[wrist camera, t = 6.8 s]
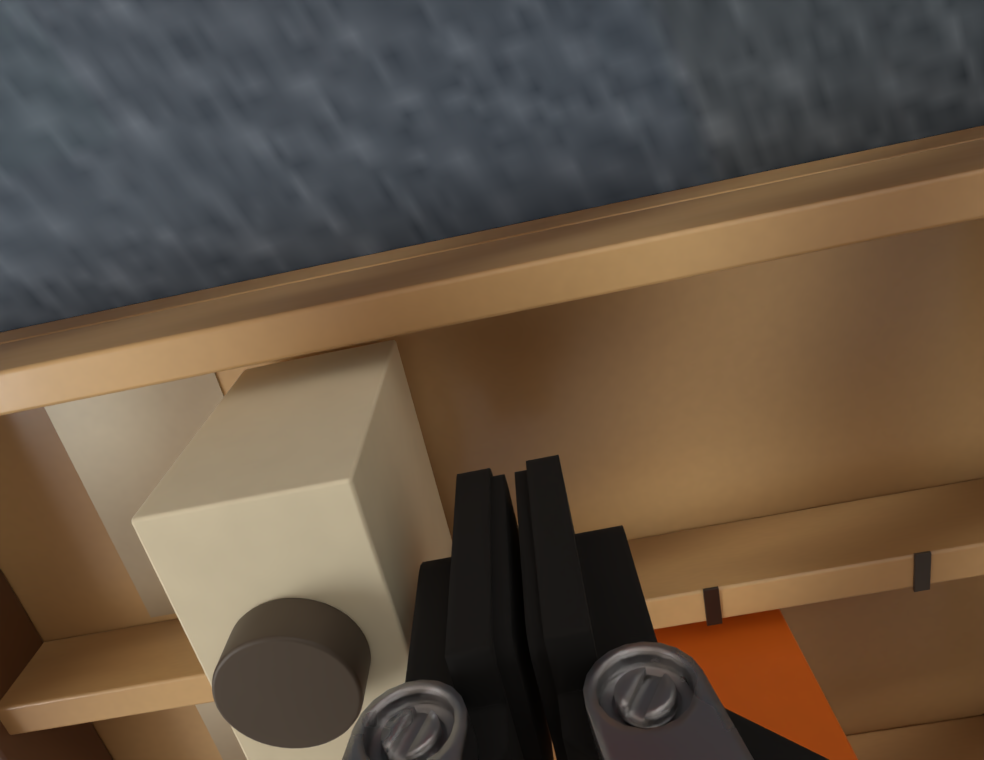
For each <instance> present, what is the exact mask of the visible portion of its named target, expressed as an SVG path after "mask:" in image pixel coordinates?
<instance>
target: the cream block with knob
mask: <svg viewBox="0 0 984 760" xmlns="http://www.w3.org/2000/svg"><path fill="white" fill-rule="evenodd" d="M131 521H132V525H133V527H134V529H135V531H136V533H137V535H138V537H139V539H140V541H141V543H142V545H143V547H144V549H145V551H146V553H147V556H148V558H149V560H150V562H151V564H152V566H153V568H154V570H155V572H156V574H157V576H158V578H159V580H160V582H161V584H162V586H163V588H164V590H165V592H166V594H167V596H168V599H169V601H170V603H171V605H172V607H173V609H174V611H175V613H176V615H177V617H178V619H179V621H180V623H181V625H182V627H183V629H184V631H185V633H186V635H187V637H188V639H189V642H190V644H191V646H192V648H193V650H194V652H195V654H196V656H197V658H198V660H199V662H200V664H201V666H202V668H203V670H204V672H205V674H206V676H207V678H208V680H209V682H210V685H211V687H212V694H213V699H214V702H215V704H216V707H217V709H218V710H219V712H220V714H221V715H222V716H223V718H224V719H225V720H226V721H227V722H228V723H229V724H230V725H231V728H232V730H233V732H234V734H235V736H236V738H237V740H238V742H239V744H240V746H241V748H242V750H243V752H244V754H245V756H246V758H247V760H342V758H343V755H344V752H345V750H346V747H347V744H348V741H349V738H350V736H351V733H352V730H353V728H354V726H355V724H356V722H357V720H358V718H359V716H360V715H361V713H362V712H363V711H364V710H365V709H366V708H367V706H368V705H369V704H370V703H371V702H372V701H373V700H374V699H376V698H377V697H378V696H380V695H381V694H383V693H384V692H386V691H387V690H388V689H391V688H393V687H396V686H398V685H400V684H403V683H405V679H406V671H407V663H408V655H409V647H410V639H411V631H412V623H413V615H414V607H415V599H416V591H417V583H418V575H419V569H420V565H421V564H422V563H423V562H426V561H431V560H437V559H442V558H448V557H451V552H452V539H451V535H450V532H449V528H448V525H447V521H446V518H445V514H444V510H443V507H442V503H441V500H440V496H439V493H438V489H437V486H436V482H435V478H434V475H433V471H432V468H431V464H430V461H429V457H428V454H427V450H426V446H425V443H424V439H423V436H422V432H421V429H420V425H419V422H418V418H417V414H416V411H415V407H414V404H413V400H412V397H411V393H410V390H409V386H408V382H407V379H406V375H405V372H404V368H403V365H402V361H401V357H400V354H399V350H398V347H397V343H396V341H395V340H390V341H385V342H380V343H375V344H370V345H365V346H360V347H355V348H350V349H345V350H340V351H335V352H330V353H325V354H320V355H315V356H310V357H305V358H300V359H295V360H290V361H285V362H280V363H275V364H270V365H265V366H260V367H255V368H250V369H246V370H244V371H243V372H242V374H241V375H240V376H239V378H238V379H237V380H236V382H235V383H234V384H233V386H232V387H231V388H230V390H229V391H228V392H227V394H226V395H225V396H224V398H223V399H222V400H221V401H220V403H219V404H218V405H217V407H216V408H215V409H214V411H213V412H212V413H211V415H210V416H209V417H208V419H207V420H206V421H205V423H204V424H203V425H202V427H201V428H200V429H199V431H198V432H197V433H196V435H195V436H194V437H193V438H192V440H191V441H190V442H189V444H188V445H187V446H186V448H185V449H184V450H183V452H182V453H181V454H180V456H179V457H178V458H177V460H176V461H175V462H174V464H173V465H172V466H171V468H170V469H169V470H168V471H167V473H166V474H165V475H164V477H163V478H162V479H161V481H160V482H159V483H158V485H157V486H156V487H155V489H154V490H153V491H152V493H151V494H150V495H149V497H148V498H147V499H146V501H145V502H144V503H143V504H142V506H141V507H140V508H139V510H138V511H137V512H136V514H135V515H134V516H133V518H132V520H131Z"/></svg>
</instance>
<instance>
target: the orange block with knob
mask: <svg viewBox="0 0 984 760" xmlns="http://www.w3.org/2000/svg"><path fill="white" fill-rule="evenodd" d="M654 632H655V635H656V639H657V642H658V643H663V644H666V645H669V646H672V647H676V648H678V649H680V650H681V651H683V652H684V653H686V654H688V655H689V656H691V657H692V658H693V659H694V660H695V661H696V663H697V664H698V665H699V666H700V667H701V669H702V670H703V672H704V673H705V675H706V677H707V679H708V680H709V682H710V684H711V686H712V687H713V689H714V691H715V693H716V694H717V696H718V698H719V700H720V701H721V703H722V705H723V707H724V708H726V709H728V710H730V711H732V712H734V713H736V714H738V715H740V716H742V717H744V718H746V719H748V720H750V721H752V722H754V723H756V724H758V725H760V726H762V727H764V728H766V729H768V730H770V731H773V732H775V733H777V734H779V735H781V736H783V737H785V738H787V739H789V740H791V741H793V742H795V743H797V744H799V745H801V746H803V747H805V748H807V749H809V750H811V751H813V752H815V753H817V754H819V755H821V756H823V757H825V758H827V759H829V760H858V758H857V756H856V755H855V753H854V751H853V749H852V747H851V745H850V743H849V741H848V739H847V737H846V735H845V733H844V732H843V730H842V728H841V726H840V724H839V722H838V720H837V718H836V716H835V714H834V712H833V710H832V709H831V707H830V705H829V703H828V701H827V699H826V697H825V695H824V693H823V691H822V689H821V687H820V686H819V684H818V682H817V680H816V678H815V676H814V674H813V672H812V670H811V668H810V666H809V664H808V663H807V661H806V659H805V657H804V655H803V653H802V651H801V649H800V647H799V645H798V643H797V641H796V640H795V638H794V636H793V634H792V632H791V630H790V628H789V626H788V624H787V622H786V620H785V619H784V617H783V615H782V613H781V611H780V609H775V610H769V611H763V612H757V613H751V614H745V615H739V616H733V617H727V618H722V624H717V625H711V626H707V623H706V621H702V622H696V623H690V624H684V625H678V626H672V627H666V628H660V629H654Z"/></svg>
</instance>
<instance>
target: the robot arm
mask: <svg viewBox="0 0 984 760" xmlns="http://www.w3.org/2000/svg"><path fill="white" fill-rule="evenodd" d="M526 469H527V470H523V471H518V472H515V488H516V502H517V516H518V525H517V521H516V517H515V513H514V508H513V504H512V500H511V496H510V492H509V488H508V484H507V480H506V477H505V474H502V475H497V476H493V474H492V471H491V469H490V468H487V469H481V470H476V471H471V472H466V473H461V474H457V477H456V491H455V506H454V521H453V537H452V552H451V557H448V558H442V559H437V560H431V561H426V562H423V563H422V564H421V565H420V569H419V575H418V583H417V591H416V599H415V607H414V615H413V623H412V631H411V639H410V647H409V655H408V663H407V671H406V679H405V683H403V684H400V685H398V686H396V687H393V688H391V689H388V690H387V691H386V692H384V693H383V694H381V695H380V696H378V697H377V698H376V699H374V700H373V701H372V702H371V703H370V704H369V705H368V706H367V708H366V709H365V710H364V711H363V712H362V713H361V715H360V716H359V718H358V720H357V722H356V724H355V726H354V728H353V730H352V733H351V736H350V738H349V741H348V744H347V747H346V750H345V752H344V755H343V758H342V760H554V757H553V747H554V751H555V755H556V759H557V760H829V759H827V758H825V757H823V756H821V755H819V754H817V753H815V752H813V751H811V750H809V749H807V748H805V747H803V746H801V745H799V744H797V743H795V742H793V741H791V740H789V739H787V738H785V737H783V736H781V735H779V734H777V733H775V732H773V731H770V730H768V729H766V728H764V727H762V726H760V725H758V724H756V723H754V722H752V721H750V720H748V719H746V718H744V717H742V716H740V715H738V714H736V713H734V712H732V711H730V710H728V709H726V708H724V707H723V705H722V703H721V701H720V700H719V698H718V696H717V694H716V693H715V691H714V689H713V687H712V686H711V684H710V682H709V680H708V679H707V677H706V675H705V673H704V672H703V670H702V669H701V667H700V666H699V665H698V664H697V663H696V661H695V660H694V659H693V658H692V657H691V656H689V655H688V654H686V653H684V652H683V651H681V650H680V649H678V648H676V647H672V646H669V645H666V644H663V643H658V642H657V639H656V635H655V632H654V629H653V625H652V622H651V618H650V615H649V612H648V608H647V605H646V601H645V598H644V595H643V591H642V588H641V584H640V581H639V578H638V574H637V571H636V568H635V564H634V561H633V557H632V554H631V551H630V547H629V544H628V540H627V537H626V534H625V531H624V527H623V526H622V525H621V526H615V527H610V528H604V529H599V530H594V531H588V532H583V533H577V534H575V531H574V526H573V521H572V517H571V512H570V507H569V502H568V497H567V492H566V488H565V483H564V478H563V473H562V468H561V463H560V459H559V455H554V456H548V457H543V458H538V459H533V460H528V461H526ZM552 743H553V747H552Z"/></svg>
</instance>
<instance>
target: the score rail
mask: <svg viewBox="0 0 984 760" xmlns="http://www.w3.org/2000/svg"><path fill="white" fill-rule="evenodd" d="M390 340H395V341H396V343H397V347H398V350H399V354H400V357H401V361H402V365H403V368H404V372H405V375H406V379H407V382H408V386H409V390H410V393H411V397H412V400H413V404H414V407H415V411H416V414H417V418H418V422H419V425H420V429H421V432H422V436H423V439H424V443H425V446H426V450H427V454H428V457H429V461H430V464H431V468H432V471H433V475H434V478H435V482H436V486H437V489H438V493H439V496H440V500H441V503H442V507H443V510H444V514H445V518H446V521H447V525H448V528H449V532H450V535H451V539H452V537H453V521H454V506H455V491H456V477H457V474H461V473H466V472H471V471H476V470H481V469H487V468H490V469H491V471H492V474H493V476H497V475H502V474H505V477H506V480H507V484H508V488H509V492H510V496H511V500H512V504H513V508H514V513H515V517H516V521H517V525H518V516H517V502H516V488H515V472H518V471H523V470H527V469H526V461H528V460H533V459H538V458H543V457H548V456H554V455H559V459H560V463H561V468H562V473H563V478H564V483H565V488H566V492H567V497H568V502H569V507H570V512H571V517H572V521H573V526H574V531H575V534H577V533H583V532H588V531H594V530H599V529H604V528H610V527H615V526H621V525H622V526H623V527H624V531H625V534H626V537H627V540H628V544H629V547H630V551H631V554H632V557H633V561H634V564H635V568H636V571H637V574H638V578H639V581H640V584H641V588H642V591H643V595H644V598H645V601H646V605H647V608H648V612H649V615H650V618H651V622H652V625H653V629H660V628H666V627H672V626H678V625H684V624H690V623H696V622H702V621H706V623H707V626H711V625H717V624H722V618H727V617H733V616H739V615H745V614H751V613H757V612H763V611H769V610H775V609H780V611H781V613H782V615H783V617H784V619H785V620H786V622H787V624H788V626H789V628H790V630H791V632H792V634H793V636H794V638H795V640H796V641H797V643H798V645H799V647H800V649H801V651H802V653H803V655H804V657H805V659H806V661H807V663H808V664H809V666H810V668H811V670H812V672H813V674H814V676H815V678H816V680H817V682H818V684H819V686H820V687H821V689H822V691H823V693H824V695H825V697H826V699H827V701H828V703H829V705H830V707H831V709H832V710H833V712H834V714H835V716H836V718H837V720H838V722H839V724H840V726H841V728H842V730H843V732H844V733H845V735H846V737H847V739H848V741H849V743H850V745H851V747H852V749H853V751H854V753H855V755H856V756H857V758H858V760H984V126H979V127H974V128H970V129H965V130H960V131H955V132H951V133H946V134H941V135H936V136H932V137H927V138H922V139H917V140H913V141H908V142H903V143H898V144H894V145H889V146H884V147H879V148H875V149H870V150H865V151H860V152H856V153H851V154H846V155H841V156H837V157H832V158H827V159H822V160H818V161H813V162H808V163H803V164H799V165H794V166H789V167H784V168H780V169H775V170H770V171H765V172H760V173H756V174H751V175H746V176H741V177H737V178H732V179H727V180H722V181H718V182H713V183H708V184H703V185H699V186H694V187H689V188H684V189H680V190H675V191H670V192H665V193H661V194H656V195H651V196H646V197H642V198H637V199H632V200H627V201H623V202H618V203H613V204H608V205H604V206H599V207H594V208H589V209H585V210H580V211H575V212H570V213H566V214H561V215H556V216H551V217H547V218H542V219H537V220H532V221H528V222H523V223H518V224H513V225H509V226H504V227H499V228H494V229H490V230H485V231H480V232H475V233H471V234H466V235H461V236H456V237H452V238H447V239H442V240H437V241H433V242H428V243H423V244H418V245H414V246H409V247H404V248H399V249H395V250H390V251H385V252H380V253H376V254H371V255H366V256H361V257H357V258H352V259H347V260H342V261H338V262H333V263H328V264H323V265H319V266H314V267H309V268H304V269H300V270H295V271H290V272H285V273H281V274H276V275H271V276H266V277H262V278H257V279H252V280H247V281H243V282H238V283H233V284H228V285H224V286H219V287H214V288H209V289H205V290H200V291H195V292H190V293H186V294H181V295H176V296H171V297H167V298H162V299H157V300H152V301H148V302H143V303H138V304H133V305H129V306H124V307H119V308H114V309H110V310H105V311H100V312H95V313H91V314H86V315H81V316H76V317H72V318H67V319H62V320H57V321H53V322H48V323H43V324H38V325H34V326H29V327H24V328H19V329H15V330H10V331H5V332H0V760H247V758H246V756H245V754H244V752H243V750H242V748H241V746H240V744H239V742H238V740H237V738H236V736H235V734H234V732H233V730H232V728H231V725H230V724H229V723H228V722H227V721H226V720H225V719H224V718H223V716H222V715H221V714H220V712H219V710H218V709H217V707H216V704H215V702H214V699H213V694H212V687H211V685H210V682H209V680H208V678H207V676H206V674H205V672H204V670H203V668H202V666H201V664H200V662H199V660H198V658H197V656H196V654H195V652H194V650H193V648H192V646H191V644H190V642H189V639H188V637H187V635H186V633H185V631H184V629H183V627H182V625H181V623H180V621H179V619H178V617H177V615H176V613H175V611H174V609H173V607H172V605H171V603H170V601H169V599H168V596H167V594H166V592H165V590H164V588H163V586H162V584H161V582H160V580H159V578H158V576H157V574H156V572H155V570H154V568H153V566H152V564H151V562H150V560H149V558H148V556H147V553H146V551H145V549H144V547H143V545H142V543H141V541H140V539H139V537H138V535H137V533H136V531H135V529H134V527H133V525H132V521H131V520H132V518H133V516H134V515H135V514H136V512H137V511H138V510H139V508H140V507H141V506H142V504H143V503H144V502H145V501H146V499H147V498H148V497H149V495H150V494H151V493H152V491H153V490H154V489H155V487H156V486H157V485H158V483H159V482H160V481H161V479H162V478H163V477H164V475H165V474H166V473H167V471H168V470H169V469H170V468H171V466H172V465H173V464H174V462H175V461H176V460H177V458H178V457H179V456H180V454H181V453H182V452H183V450H184V449H185V448H186V446H187V445H188V444H189V442H190V441H191V440H192V438H193V437H194V436H195V435H196V433H197V432H198V431H199V429H200V428H201V427H202V425H203V424H204V423H205V421H206V420H207V419H208V417H209V416H210V415H211V413H212V412H213V411H214V409H215V408H216V407H217V405H218V404H219V403H220V401H221V400H222V399H223V398H224V396H225V395H226V394H227V392H228V391H229V390H230V388H231V387H232V386H233V384H234V383H235V382H236V380H237V379H238V378H239V376H240V375H241V374H242V372H243V371H244V370H246V369H250V368H255V367H260V366H265V365H270V364H275V363H280V362H285V361H290V360H295V359H300V358H305V357H310V356H315V355H320V354H325V353H330V352H335V351H340V350H345V349H350V348H355V347H360V346H365V345H370V344H375V343H380V342H385V341H390ZM552 747H553V743H552ZM553 757H554V760H557V759H556V755H555V751H554V747H553Z"/></svg>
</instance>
